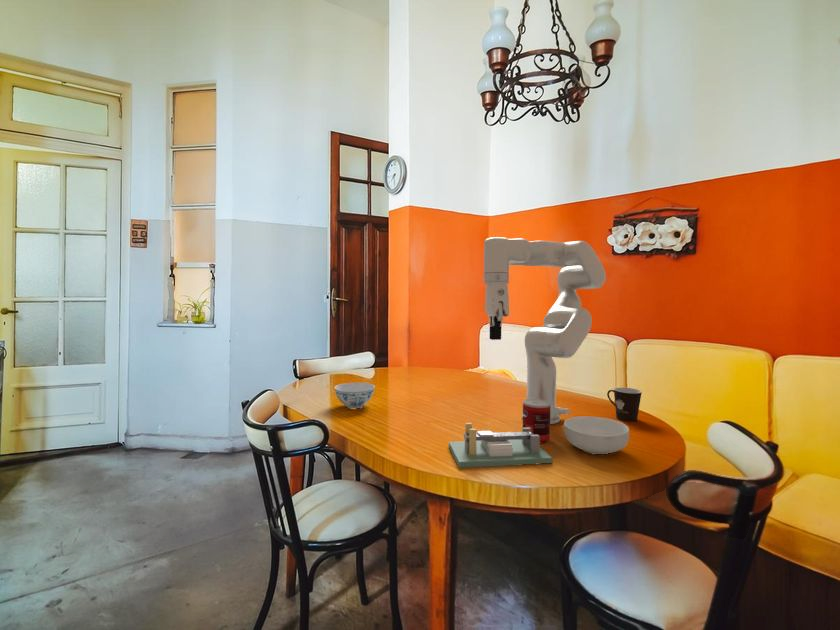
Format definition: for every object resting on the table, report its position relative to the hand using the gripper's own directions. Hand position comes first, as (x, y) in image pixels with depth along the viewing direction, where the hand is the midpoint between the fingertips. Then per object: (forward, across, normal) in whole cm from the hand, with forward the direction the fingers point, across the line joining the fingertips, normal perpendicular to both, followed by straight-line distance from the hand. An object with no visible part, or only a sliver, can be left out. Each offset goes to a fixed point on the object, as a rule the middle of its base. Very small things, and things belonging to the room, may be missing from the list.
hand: (495, 339), depth 126 cm
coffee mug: (+29, +11, -50) cm, 59 cm away
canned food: (+29, -6, -11) cm, 32 cm away
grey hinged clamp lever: (+25, -17, +4) cm, 30 cm away
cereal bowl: (+29, -16, -24) cm, 41 cm away
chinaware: (+29, +34, +44) cm, 63 cm away
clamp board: (+29, -17, +4) cm, 34 cm away
